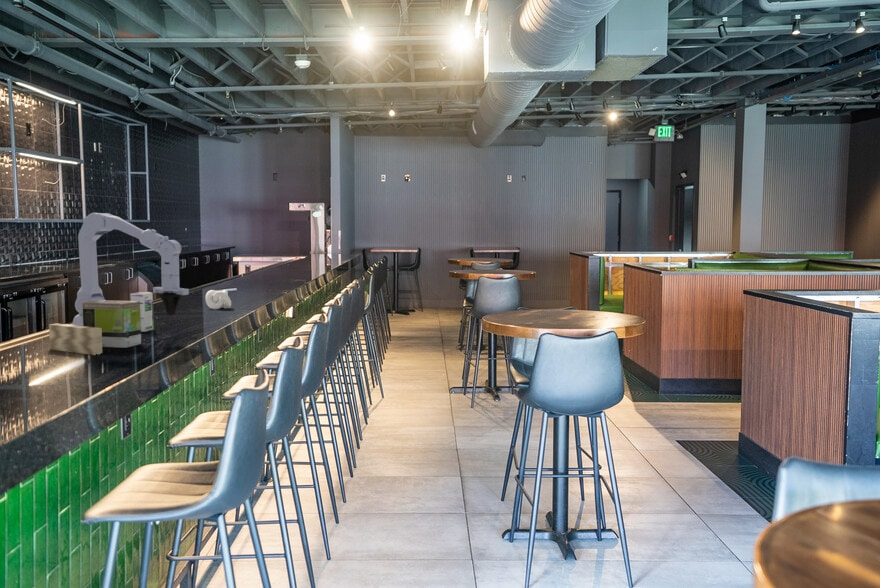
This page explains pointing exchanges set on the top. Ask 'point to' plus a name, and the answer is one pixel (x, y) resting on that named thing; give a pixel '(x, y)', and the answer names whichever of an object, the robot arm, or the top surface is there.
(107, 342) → the tea box
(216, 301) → the white curved lump
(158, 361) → the top surface
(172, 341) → the top surface
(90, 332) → the birch board
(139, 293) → the syrup box
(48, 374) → the top surface
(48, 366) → the top surface
